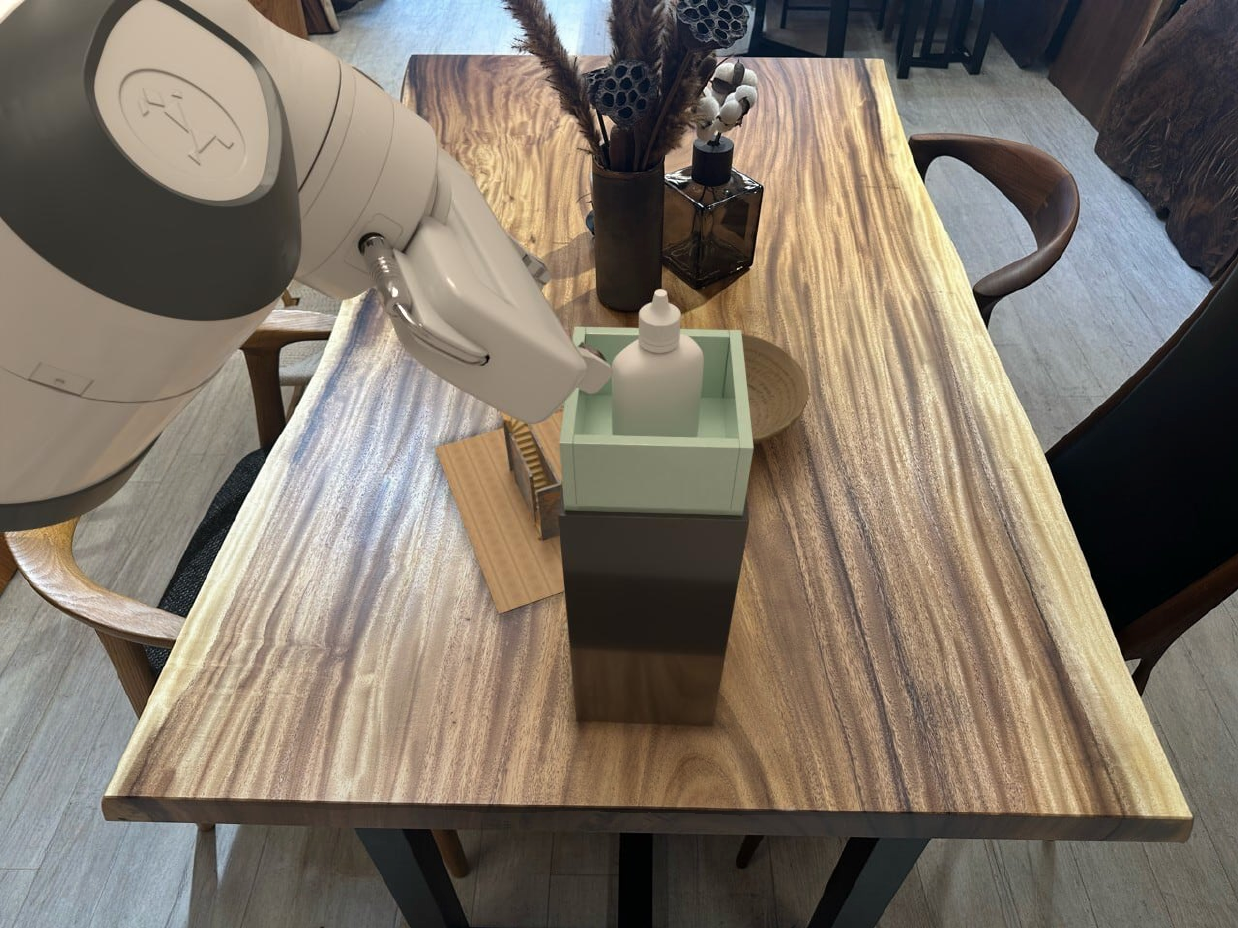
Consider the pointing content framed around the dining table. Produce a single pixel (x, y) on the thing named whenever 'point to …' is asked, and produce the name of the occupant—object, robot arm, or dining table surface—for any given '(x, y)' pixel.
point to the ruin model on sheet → (533, 473)
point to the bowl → (772, 388)
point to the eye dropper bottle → (658, 377)
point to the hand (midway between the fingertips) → (568, 325)
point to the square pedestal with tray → (654, 543)
